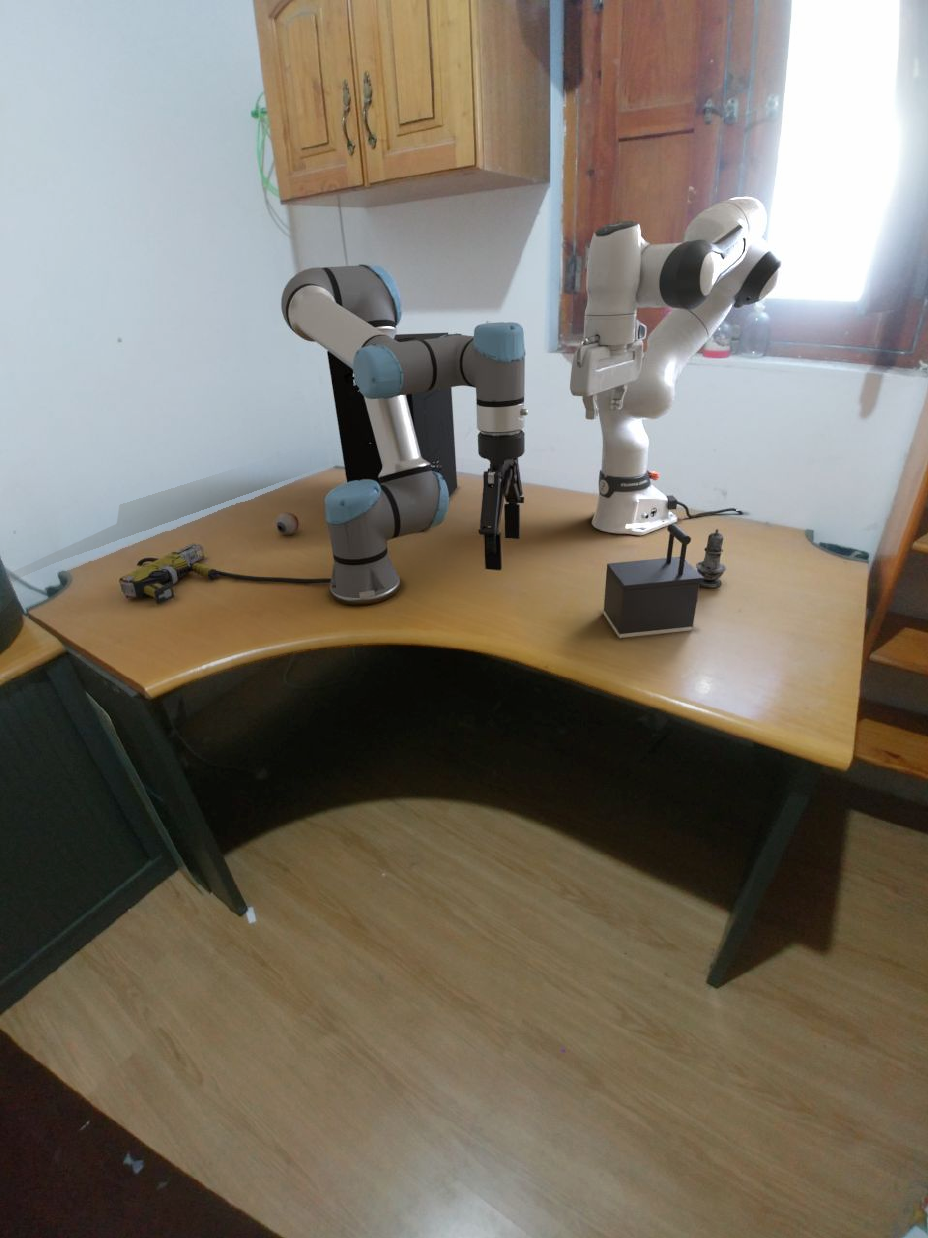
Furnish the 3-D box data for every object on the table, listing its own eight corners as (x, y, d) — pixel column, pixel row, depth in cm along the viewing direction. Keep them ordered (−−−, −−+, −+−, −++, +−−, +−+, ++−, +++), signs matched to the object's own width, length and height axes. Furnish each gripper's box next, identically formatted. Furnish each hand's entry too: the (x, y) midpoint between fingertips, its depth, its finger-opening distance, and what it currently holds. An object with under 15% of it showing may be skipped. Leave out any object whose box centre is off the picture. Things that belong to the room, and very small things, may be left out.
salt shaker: (725, 588, 125) (735, 534, 119) (695, 587, 126) (703, 534, 120) (720, 576, 130) (730, 523, 124) (692, 575, 131) (700, 523, 125)
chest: (671, 606, 120) (677, 561, 116) (692, 630, 112) (700, 583, 107) (603, 613, 119) (606, 568, 114) (619, 637, 111) (623, 590, 106)
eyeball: (273, 537, 164) (268, 516, 161) (287, 528, 169) (282, 508, 166) (291, 539, 161) (286, 518, 158) (305, 530, 166) (301, 510, 163)
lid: (680, 560, 116) (686, 518, 111) (703, 582, 107) (710, 537, 103) (606, 568, 114) (609, 525, 110) (623, 590, 106) (627, 545, 102)
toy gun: (240, 551, 148) (190, 541, 152) (168, 591, 128) (113, 578, 132) (243, 568, 150) (193, 558, 154) (172, 610, 130) (117, 597, 134)
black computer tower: (424, 530, 162) (407, 348, 139) (353, 528, 166) (326, 351, 144) (457, 486, 193) (448, 332, 171) (397, 485, 198) (380, 334, 175)
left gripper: (504, 451, 85) (507, 586, 96) (539, 414, 105) (538, 528, 116) (454, 450, 87) (462, 581, 98) (497, 413, 107) (500, 525, 118)
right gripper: (596, 338, 97) (591, 426, 104) (651, 326, 110) (643, 405, 117) (562, 338, 101) (559, 423, 108) (619, 326, 114) (614, 402, 121)
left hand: (503, 552), depth 107 cm, fingers open, 13 cm apart
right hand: (604, 413), depth 113 cm, fingers open, 8 cm apart
